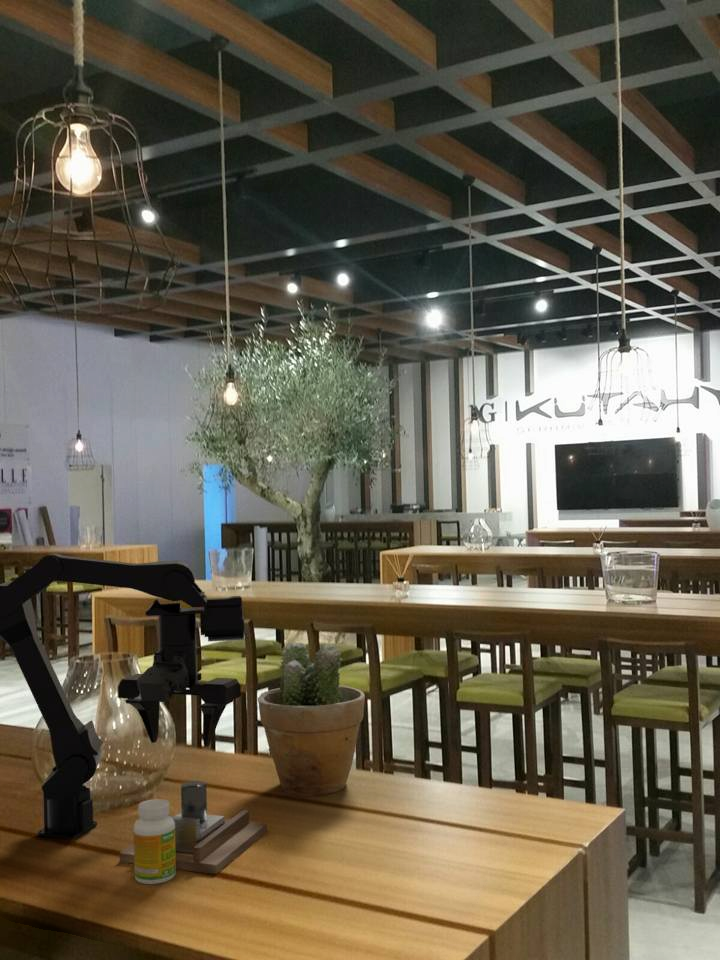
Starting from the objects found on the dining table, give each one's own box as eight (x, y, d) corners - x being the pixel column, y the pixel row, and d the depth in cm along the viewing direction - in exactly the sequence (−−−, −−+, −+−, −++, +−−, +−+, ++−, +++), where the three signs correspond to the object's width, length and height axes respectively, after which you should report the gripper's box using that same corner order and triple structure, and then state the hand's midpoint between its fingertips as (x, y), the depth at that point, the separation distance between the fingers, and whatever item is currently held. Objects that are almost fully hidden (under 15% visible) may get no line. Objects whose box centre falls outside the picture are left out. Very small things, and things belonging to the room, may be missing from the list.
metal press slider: (152, 848, 132) (151, 795, 132) (182, 828, 140) (180, 777, 140) (197, 853, 130) (196, 799, 130) (224, 832, 137) (223, 781, 137)
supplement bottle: (166, 886, 123) (164, 811, 123) (127, 884, 124) (125, 809, 124) (182, 869, 128) (180, 797, 128) (145, 867, 129) (143, 796, 129)
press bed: (119, 861, 132) (119, 840, 132) (178, 821, 147) (178, 802, 147) (216, 874, 127) (216, 851, 127) (267, 831, 142) (266, 811, 142)
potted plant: (237, 791, 161) (233, 643, 161) (305, 763, 176) (301, 628, 176) (323, 810, 150) (320, 652, 150) (388, 779, 165) (384, 635, 165)
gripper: (95, 650, 142) (97, 754, 142) (206, 654, 136) (208, 763, 136) (136, 638, 153) (138, 735, 153) (241, 641, 146) (243, 743, 146)
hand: (180, 744), depth 147 cm, fingers open, 9 cm apart
